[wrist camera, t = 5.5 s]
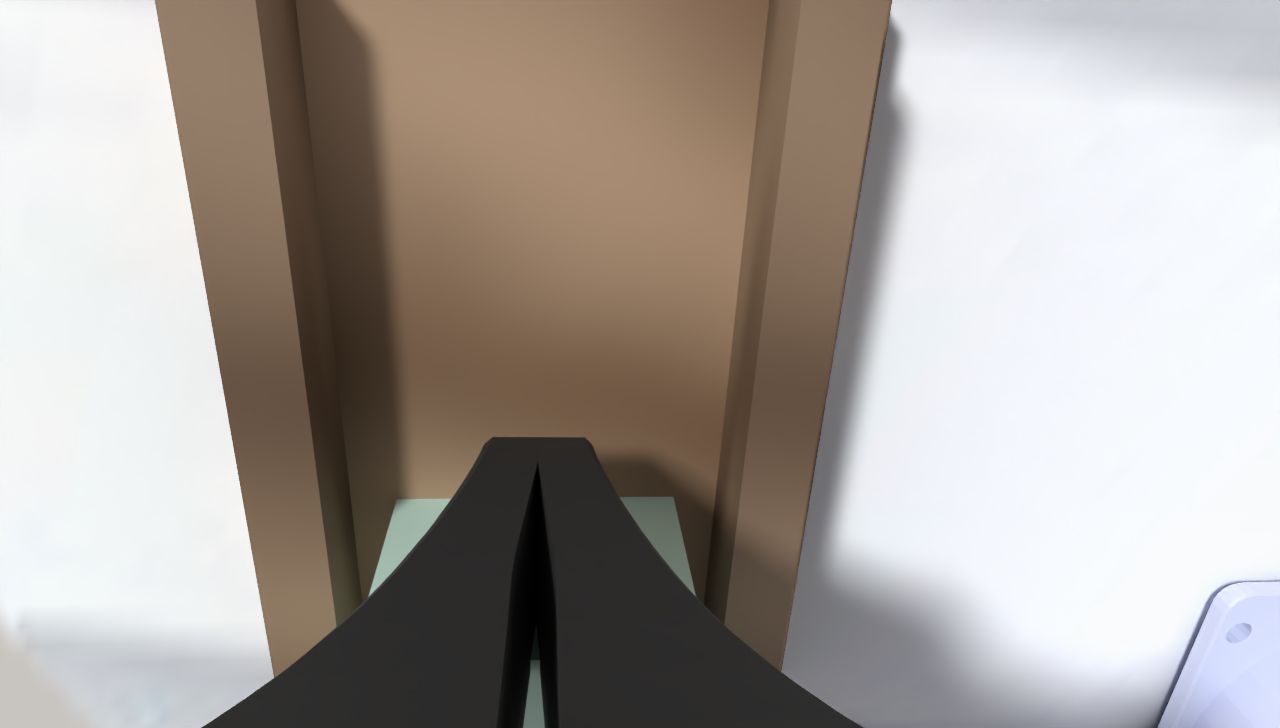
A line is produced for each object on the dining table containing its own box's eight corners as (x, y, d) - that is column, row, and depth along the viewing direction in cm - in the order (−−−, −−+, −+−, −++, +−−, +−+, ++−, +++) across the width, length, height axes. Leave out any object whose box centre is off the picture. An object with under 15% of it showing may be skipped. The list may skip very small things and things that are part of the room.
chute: (761, 681, 17) (808, 843, 14) (301, 696, 16) (240, 874, 13) (868, -24, 12) (987, -19, 8) (179, -64, 11) (21, -76, 7)
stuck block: (658, 679, 15) (685, 862, 12) (412, 687, 15) (375, 879, 12) (673, 496, 14) (709, 655, 11) (396, 499, 13) (347, 666, 10)
